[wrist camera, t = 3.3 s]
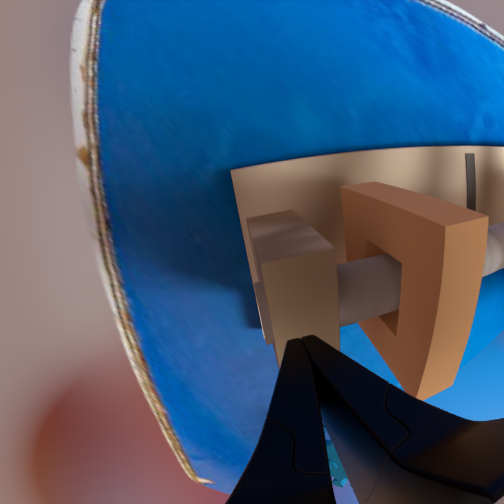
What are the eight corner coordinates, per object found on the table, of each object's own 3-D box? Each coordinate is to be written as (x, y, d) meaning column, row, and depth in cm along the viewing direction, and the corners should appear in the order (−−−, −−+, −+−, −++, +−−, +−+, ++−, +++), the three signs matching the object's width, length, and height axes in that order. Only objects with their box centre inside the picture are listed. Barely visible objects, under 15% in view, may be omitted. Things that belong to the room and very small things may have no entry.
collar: (375, 181, 13) (488, 216, 6) (378, 301, 16) (452, 385, 8) (339, 186, 13) (445, 226, 6) (348, 309, 16) (413, 404, 8)
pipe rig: (511, 146, 15) (574, 158, 8) (507, 253, 19) (560, 284, 12) (230, 170, 15) (234, 184, 8) (262, 329, 18) (281, 417, 11)
